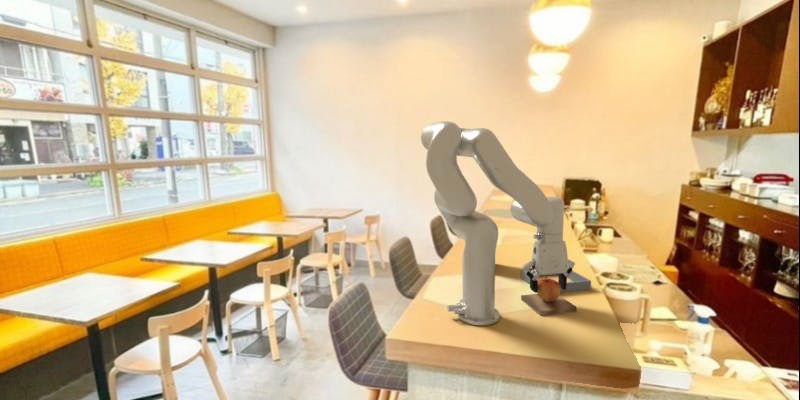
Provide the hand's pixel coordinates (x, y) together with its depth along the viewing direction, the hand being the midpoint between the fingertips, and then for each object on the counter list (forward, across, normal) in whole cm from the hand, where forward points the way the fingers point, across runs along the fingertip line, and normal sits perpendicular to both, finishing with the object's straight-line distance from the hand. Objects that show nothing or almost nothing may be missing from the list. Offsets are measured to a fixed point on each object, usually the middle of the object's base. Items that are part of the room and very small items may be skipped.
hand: (548, 289), depth 120 cm
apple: (+4, 0, 0) cm, 4 cm away
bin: (+5, +12, +16) cm, 21 cm away
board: (+5, 0, 0) cm, 5 cm away
